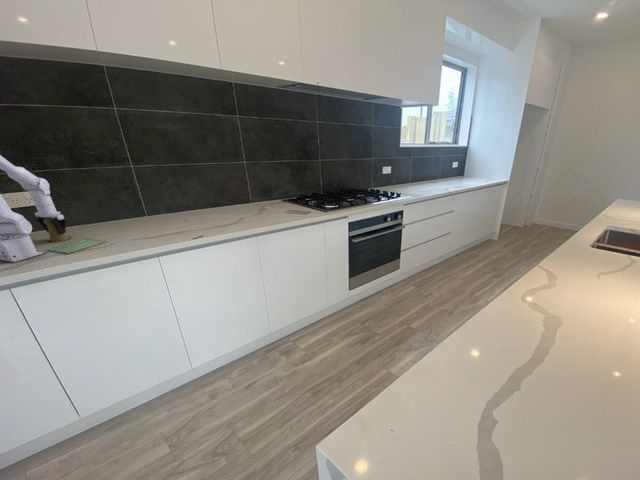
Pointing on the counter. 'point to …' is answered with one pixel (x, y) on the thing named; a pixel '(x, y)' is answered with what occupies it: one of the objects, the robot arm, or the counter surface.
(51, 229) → the cork
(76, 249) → the napkin
